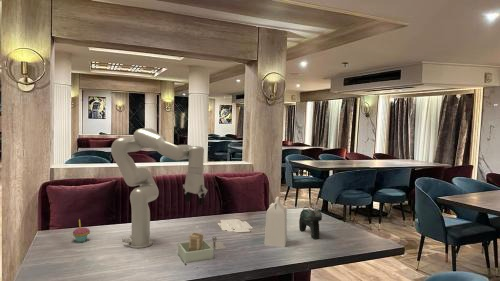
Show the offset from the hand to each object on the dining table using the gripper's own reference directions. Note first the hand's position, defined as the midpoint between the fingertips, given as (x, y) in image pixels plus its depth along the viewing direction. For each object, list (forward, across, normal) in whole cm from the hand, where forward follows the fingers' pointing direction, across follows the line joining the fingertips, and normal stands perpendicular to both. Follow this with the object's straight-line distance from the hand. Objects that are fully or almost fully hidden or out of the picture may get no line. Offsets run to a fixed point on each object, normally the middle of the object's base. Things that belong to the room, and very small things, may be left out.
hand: (194, 203), depth 172 cm
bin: (+26, +7, -4) cm, 27 cm away
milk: (+25, +24, +42) cm, 55 cm away
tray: (+26, -13, +50) cm, 58 cm away
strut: (+25, +7, -4) cm, 26 cm away
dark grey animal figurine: (+25, +32, +67) cm, 79 cm away
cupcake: (+28, -58, -29) cm, 70 cm away
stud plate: (+26, +5, +12) cm, 28 cm away
